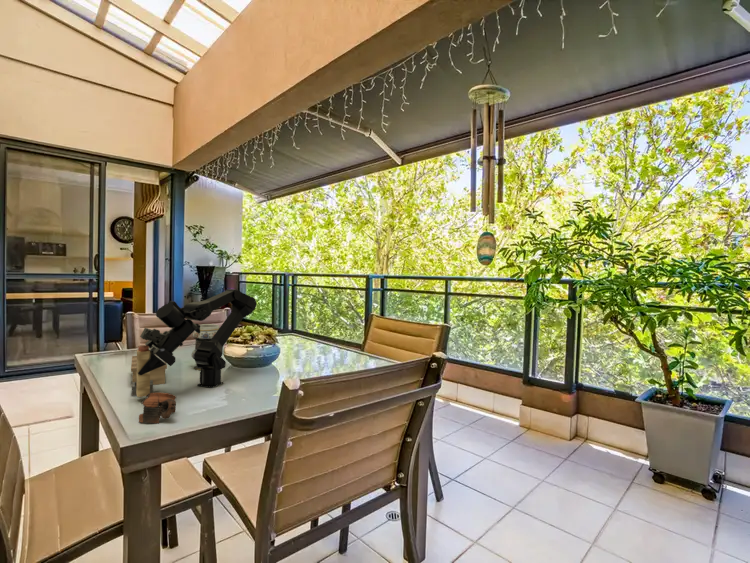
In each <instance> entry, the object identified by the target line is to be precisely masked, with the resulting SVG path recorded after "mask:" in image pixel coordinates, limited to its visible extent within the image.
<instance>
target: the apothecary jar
mask: <svg viewBox="0 0 750 563" xmlns="http://www.w3.org/2000/svg"><path fill="white" fill-rule="evenodd" d="M199 325H200V334H198V333H197V332H196V331H194V332H193V333H192V338H194V340H195V344H194V345H195V347H194V350H193V351H192V352H191V357H192V359H194V354H195V352H196V348H198V347H199V345H200V344H201V342H202V341H210V340H211V339H212V338H213V336H214V335H215V334H216V332H217V331H218V329H219V328H220V325H219V324H210V323H204V324H199ZM194 361H195V359H194ZM193 368H194V370H197V371H201V368H197V365H195V366H194V367H193Z"/></svg>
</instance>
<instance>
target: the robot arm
mask: <svg viewBox="0 0 750 563" xmlns="http://www.w3.org/2000/svg"><path fill="white" fill-rule="evenodd" d="M228 304H231V312H230V313H229V315H228V316H227V317H226V318H225V320H224V322H222V324H221V325H220V326H219V329H218V331H217V332H216V334H215V335H214V336H213V338H212V339H211V340H210V341H202V342H201V344H200V345H199V347H198V348H196V352H195V354H194V359H195V360H194V362H195V364H196V365H195V366H197V368H201V370H199V383H197V385H196V386H197V387H202V388H210V389H213V388H216V387H218V386H220V385H222V384H224V381H222V370H223V369H225V368H226V364H227V361H226V360H225V359H224V358H223V357H222V356H223V350H224V348H223V347H224V346H225V344H226V343H227V342H228V340H229V339H230V337H231V335H232V334H233V333H234V331H235V330H236V328H238V326H239V324H240V323H241V322H242V320H243V319H244V318H246V317H247V316H249V315H251V314H252V313H253V312H254V311H255V310H256V307H257V305H258V304H257V300H256V298H255V297H253V296H251V295H249V294H246V293H243V292H242V291H240V290H239V289H236V288H227V289H226V290H223V292H220V293H218V294H216V295H213V296H212V297H209V298H207V299H204V300H200V301H193V302H188V303H186V304H184V306H183V307H180V306H179V305H178V303H177V302H176V301H173V300H169V301H168V303H165V304H164V305H162V306H161V307H160V308H158V309H157V311H156V313H155V316H156V317H157V319H159V320H160V321H161V322H162V323H163V324H164V325H166V326H167V327H168V328H170V329H169V330H165V331H163V332H160V330H159V329H157V328H153V329H150V328H148V327H144V329H143V330H142V332H141V334H140V336H139V337H140V338H141V339H142V340H144V341H146V342H145V343H144V345H147V346H149V350H150V358H149V359H148V361H147V362H146V363H145V364H144V366H143V367H142V368H141V370H140V371H139V372H138V374H139V375H143V374H145V373H147V372H150V371H152V370H154V369H157V368H159V367H161V366H164V365H167V366H168V365H169V367H171V366H173V365H174V364H175V363H176V357H175V356H174V352H175V351H176V350H177V349H178V348H179V347H182V346H183V345H184V342H185V341H186V340H187V339H188V338H189V337H190V336H191V335H193V333H194V332H195V331H196V332H197V333H198V334H200V325H201V324H199V323H196V322H197V321H198V322H203V321H204V320H206V319H207V318H209V317H211V315H212V312H214V311H216V310H217V309H219V308H222V307H223V306H225V305H228ZM193 321H195V322H193ZM165 362H166V363H165ZM136 371H137V370H136Z"/></svg>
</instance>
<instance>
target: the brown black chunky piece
mask: <svg viewBox="0 0 750 563" xmlns="http://www.w3.org/2000/svg"><path fill="white" fill-rule="evenodd" d="M176 399H177V396H176V395H174V394H172V393H166V392H153V393H149V394H148V395H147V396H146V398H145V399H144V400H142V402H141V403H140V404H141V405H143V413H140V414H139V415H138V423H139V422H141V423H140V424H142V423H147V424H157V423H158V424H159V423H160V420H161V418H162V419H164V420H168V419H169V418H170V417H171V415H172V414H174V413H175V412H176V409H177V408H176V407H177V406H176V405H177V402H176Z"/></svg>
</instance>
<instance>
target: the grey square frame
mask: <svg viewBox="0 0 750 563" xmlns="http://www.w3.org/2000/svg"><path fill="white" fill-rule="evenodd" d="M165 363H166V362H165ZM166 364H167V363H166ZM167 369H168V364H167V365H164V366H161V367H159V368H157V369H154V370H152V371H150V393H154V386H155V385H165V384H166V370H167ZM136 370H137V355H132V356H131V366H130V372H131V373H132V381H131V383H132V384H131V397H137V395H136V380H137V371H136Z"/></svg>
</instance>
